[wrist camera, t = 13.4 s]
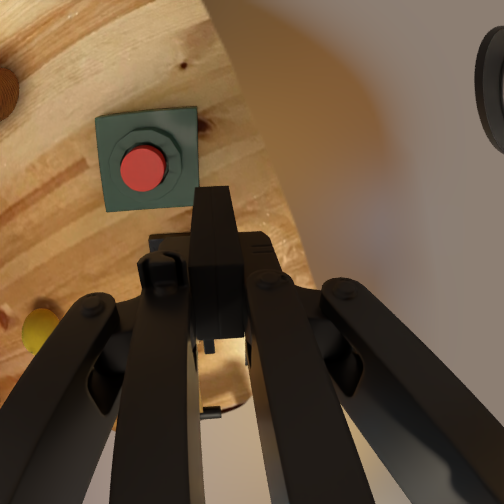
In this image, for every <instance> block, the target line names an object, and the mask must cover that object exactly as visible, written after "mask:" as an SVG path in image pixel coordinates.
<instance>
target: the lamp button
mask: <svg viewBox="0 0 504 504" xmlns="http://www.w3.org/2000/svg"><path fill="white" fill-rule="evenodd" d="M165 169H166V162H165V158H164V156H163V154H162V153H161V152H160V151H159V150H158V149H157V148H155V147H153V146H150V145H140V146H137V147H135V148H133V149H132V150H131V151H130V152H129V153H128V154H127V155H126V156H125V157H124V159H123V161H122V163H121V169H120V171H121V177H122V179H123V181H124V183H125V184H126V185H127V186H128V187H130V188H131V189H133V190H136V191H141V192H144V191H149V190H152V189H153V188H155V187H156V186H157V185H158V184H159V183H160V182H161V180H162V178H163V175H164V173H165Z"/></svg>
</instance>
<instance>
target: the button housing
mask: <svg viewBox="0 0 504 504" xmlns="http://www.w3.org/2000/svg"><path fill="white" fill-rule="evenodd" d="M95 127H96V138H97V148H98V157H99V165H100V173H101V181H102V188H103V194H104V201H105V207H106V212H117V211H129V210H142V209H155V208H170V207H185V206H193V201H194V191H195V187H199V164H198V128H197V106H190V107H174V108H162V109H150V110H141V111H132V112H123V113H116V114H108V115H101V116H99V117H96V118H95ZM140 145H150V146H153V147H155V148H157V149H158V150H159V151H160V152H161V153H162V154H163V156H164V158H165V162H166V169H165V173H164V175H163V178H162V180H161V182H160V183H159V184H158V185H157V186H156V187H155V188H153V189H152V190H149V191H144V192H141V191H136V190H133V189H131V188H130V187H128V186H127V185H126V184H125V183H124V181H123V179H122V177H121V171H120V169H121V163H122V161H123V159H124V157H125V156H126V155H127V154H128V153H129V152H130V151H131V150H132V149H133V148H135V147H137V146H140Z"/></svg>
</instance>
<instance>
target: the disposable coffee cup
mask: <svg viewBox="0 0 504 504" xmlns="http://www.w3.org/2000/svg"><path fill="white" fill-rule="evenodd" d="M18 96H19V84H18V80H17V78H16V76H15V74H14V73H13V72H12V71H10V70H9V69H5V68H0V121H2V120H4V119H5V118H7V117H8V116H9V115H10V114H11V113H12V111H13V110H14V108H15V106H16V104H17V100H18Z"/></svg>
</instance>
